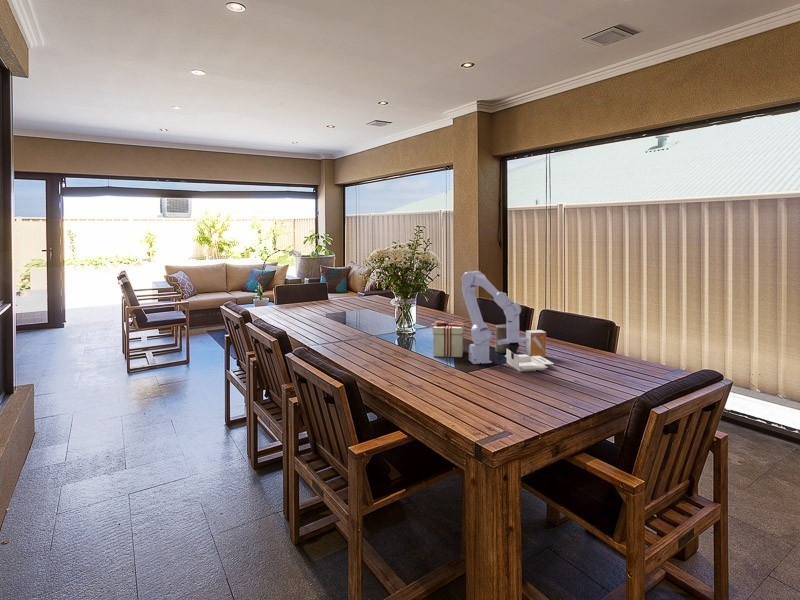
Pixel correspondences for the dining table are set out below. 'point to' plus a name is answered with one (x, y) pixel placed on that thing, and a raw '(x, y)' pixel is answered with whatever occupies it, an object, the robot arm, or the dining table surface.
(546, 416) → the dining table surface
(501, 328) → the pillar candle
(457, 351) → the gift box
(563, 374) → the dining table surface
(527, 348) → the small box
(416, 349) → the dining table surface
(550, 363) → the flap
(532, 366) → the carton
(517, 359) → the flap
